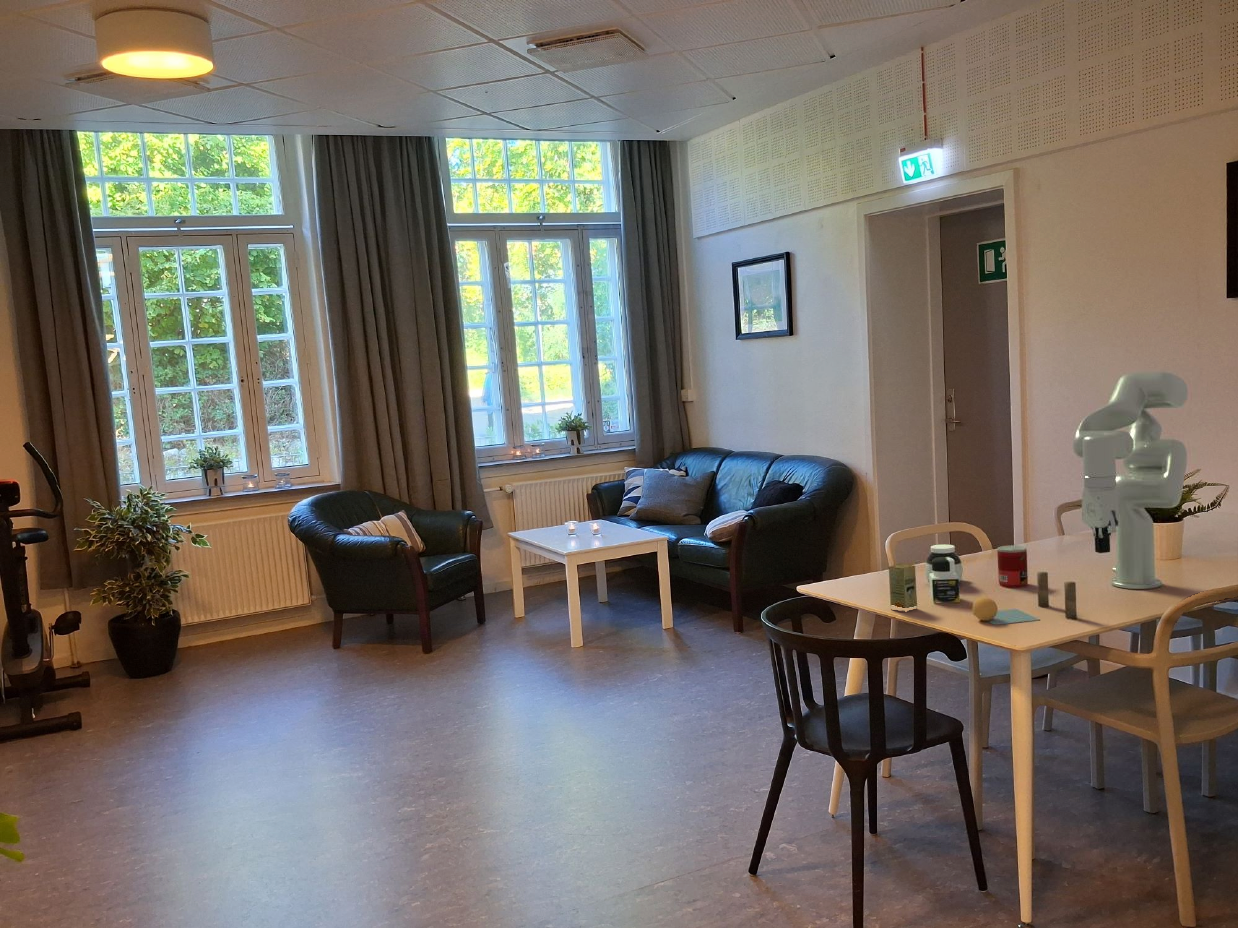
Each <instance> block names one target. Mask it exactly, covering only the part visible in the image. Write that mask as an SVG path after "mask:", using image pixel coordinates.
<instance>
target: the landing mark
mask: <svg viewBox="0 0 1238 928" xmlns="http://www.w3.org/2000/svg"><path fill="white" fill-rule="evenodd" d="M972 615H974V613H973V612H972ZM1026 621H1029V622H1035V621H1041V619H1040V618H1037V617H1035V616H1033V615H1030V614H1029V613H1026V612H1024V611H1023V610H1020V609H1018V608H1012V609H1011V608H1010V609H1003V610H1002V609H1000V610H998V611H997V614H996V616H995V617H994V618H993V619H991V620H989V621H987V623H989V624H992V625H994V626H1000V625H1010V624H1018V623H1027V622H1026Z"/></svg>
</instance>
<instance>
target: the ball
mask: <svg viewBox="0 0 1238 928" xmlns="http://www.w3.org/2000/svg"><path fill="white" fill-rule="evenodd" d="M997 611H999V610H998V604H997V603H996V601H994V600H993V599H992V598H990V597H987V596H986V597H985V596H983V597H979V598H977V599H976V600H975V601H974V603H973V604H972V614H973V613H974V614H973V616H975V618H977V619H978V620H980V621H985V622H988V621H989V620H991V619H993V618H994V617H995V616H996V614H997Z"/></svg>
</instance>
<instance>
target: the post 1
mask: <svg viewBox="0 0 1238 928" xmlns="http://www.w3.org/2000/svg"><path fill="white" fill-rule="evenodd" d="M1048 577H1049V574H1048V572H1046V571H1038V572H1036V579H1037V581H1036V582H1037V600H1038V601H1037V605H1038V607H1040V608H1048V607H1050V602H1049V601H1050V599H1049V597H1050V596H1049V578H1048Z"/></svg>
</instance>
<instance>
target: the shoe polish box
mask: <svg viewBox="0 0 1238 928" xmlns="http://www.w3.org/2000/svg"><path fill="white" fill-rule="evenodd" d="M916 577H917V576H916V565H913V564H906V563H898V564H894V565H891V566H888V578H889V596H890V597H889V598H890V601H889V602H890V606H891V605H895V606H897V607H902V608H909V607H914V606H917V607H918V601H917V600H918V599H917V598H918V597H917V595H918V594H917V579H916Z"/></svg>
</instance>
